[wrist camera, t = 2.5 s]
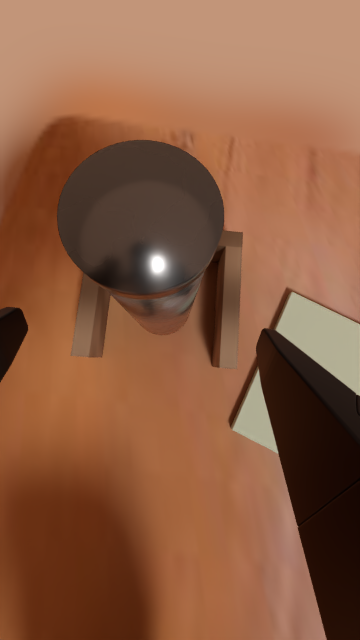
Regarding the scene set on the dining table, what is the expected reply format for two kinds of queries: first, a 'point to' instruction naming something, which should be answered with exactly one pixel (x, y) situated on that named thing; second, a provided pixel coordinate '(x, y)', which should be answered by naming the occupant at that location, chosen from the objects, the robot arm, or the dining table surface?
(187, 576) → the dining table surface
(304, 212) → the dining table surface
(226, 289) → the cubby
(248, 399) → the tile
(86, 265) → the canister
